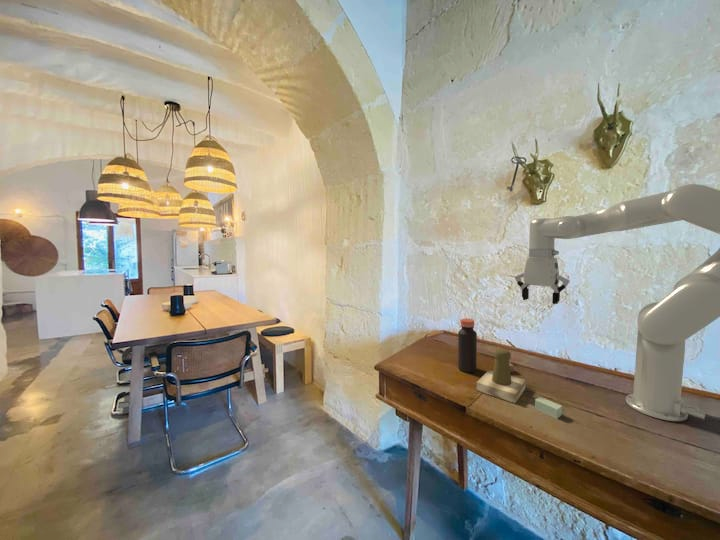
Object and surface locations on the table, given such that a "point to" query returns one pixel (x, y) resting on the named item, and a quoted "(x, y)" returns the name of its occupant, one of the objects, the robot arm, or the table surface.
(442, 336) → the table surface
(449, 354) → the table surface
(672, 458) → the table surface
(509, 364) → the walnut brick
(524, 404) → the table surface
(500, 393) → the beech board
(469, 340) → the bottle
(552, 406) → the sage brick
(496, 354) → the cork
